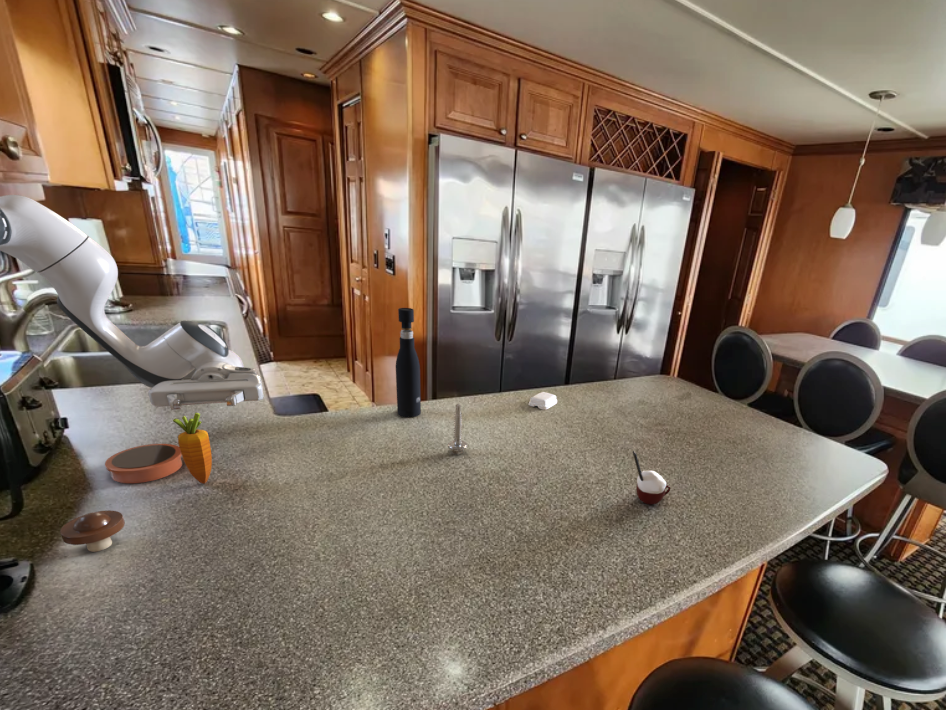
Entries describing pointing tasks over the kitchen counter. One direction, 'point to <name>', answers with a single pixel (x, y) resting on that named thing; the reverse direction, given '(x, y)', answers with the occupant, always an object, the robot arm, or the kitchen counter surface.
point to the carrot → (195, 448)
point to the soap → (543, 400)
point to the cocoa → (650, 485)
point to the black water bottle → (407, 369)
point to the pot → (144, 463)
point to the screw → (457, 434)
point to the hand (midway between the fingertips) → (203, 404)
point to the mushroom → (93, 529)
